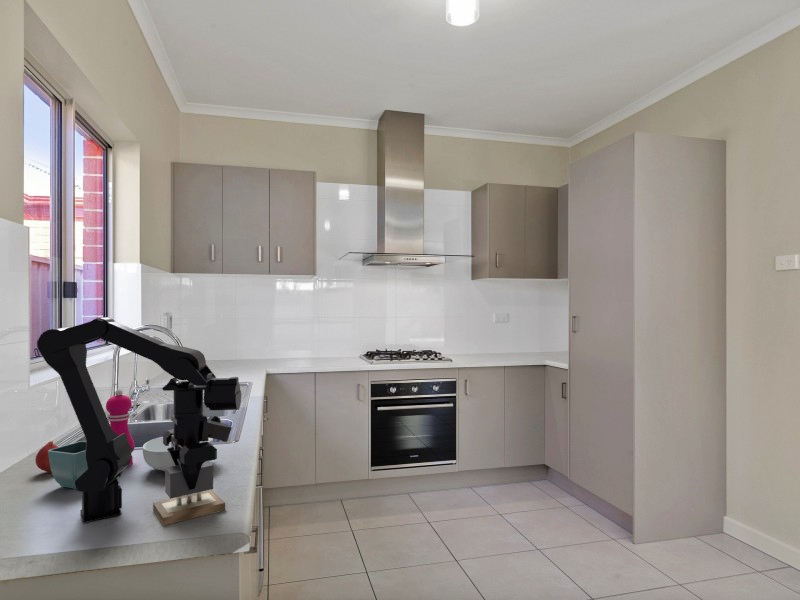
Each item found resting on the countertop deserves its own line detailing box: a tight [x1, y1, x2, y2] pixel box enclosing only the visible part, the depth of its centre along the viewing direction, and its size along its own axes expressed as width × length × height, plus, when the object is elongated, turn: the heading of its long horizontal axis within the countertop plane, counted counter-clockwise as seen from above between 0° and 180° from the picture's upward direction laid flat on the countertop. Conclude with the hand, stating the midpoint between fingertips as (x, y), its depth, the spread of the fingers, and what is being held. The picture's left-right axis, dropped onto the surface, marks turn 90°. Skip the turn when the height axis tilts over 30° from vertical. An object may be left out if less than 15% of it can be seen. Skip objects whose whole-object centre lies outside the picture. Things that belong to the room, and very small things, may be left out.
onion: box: [34, 440, 59, 474], centre depth 129 cm, size 6×6×8 cm
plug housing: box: [164, 461, 214, 499], centre depth 106 cm, size 8×4×5 cm, turn 127°
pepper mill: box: [105, 388, 136, 467], centre depth 134 cm, size 7×7×20 cm
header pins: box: [176, 491, 203, 506], centre depth 106 cm, size 5×1×4 cm, turn 127°
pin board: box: [152, 489, 226, 526], centre depth 106 cm, size 12×9×2 cm
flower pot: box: [48, 440, 88, 490], centre depth 120 cm, size 9×9×9 cm
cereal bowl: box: [142, 436, 214, 473], centre depth 132 cm, size 17×17×7 cm
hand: (188, 485), depth 106 cm, fingers closed on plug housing, 4 cm apart
